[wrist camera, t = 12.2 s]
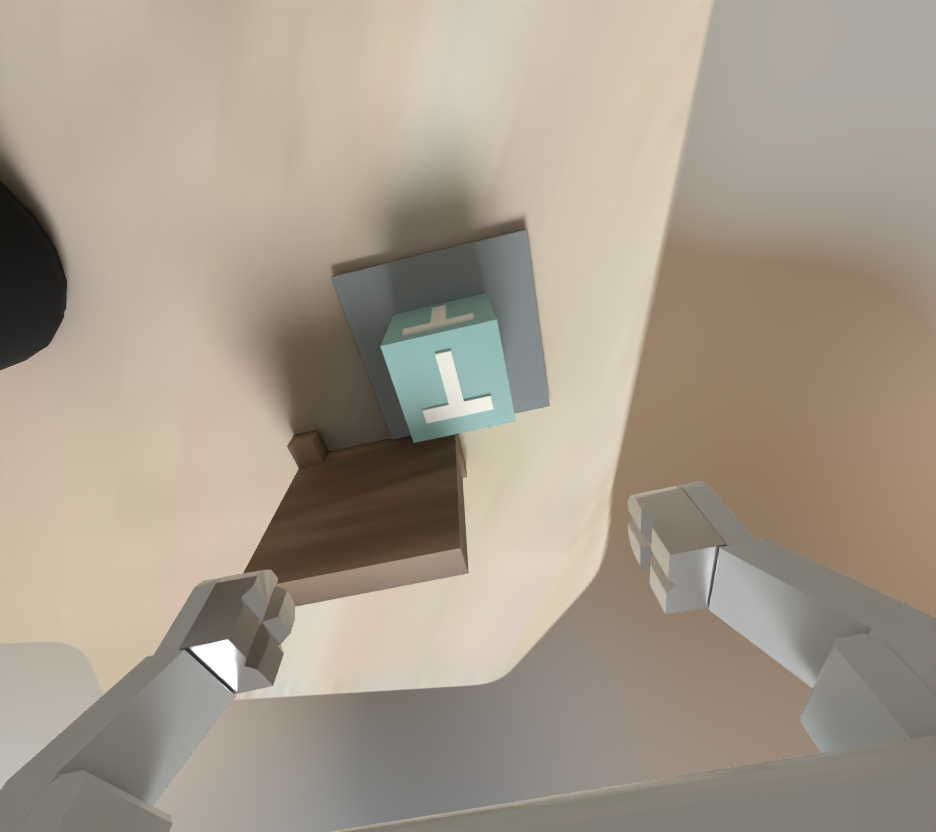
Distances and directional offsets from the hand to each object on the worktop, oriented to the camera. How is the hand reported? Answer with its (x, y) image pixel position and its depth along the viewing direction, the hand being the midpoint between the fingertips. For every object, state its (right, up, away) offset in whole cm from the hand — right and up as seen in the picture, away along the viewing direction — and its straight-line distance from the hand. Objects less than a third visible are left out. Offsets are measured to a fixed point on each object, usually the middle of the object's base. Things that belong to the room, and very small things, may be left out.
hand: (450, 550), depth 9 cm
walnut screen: (-5, +1, +17) cm, 18 cm away
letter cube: (-1, +7, +13) cm, 15 cm away
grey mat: (-1, +7, +14) cm, 15 cm away
